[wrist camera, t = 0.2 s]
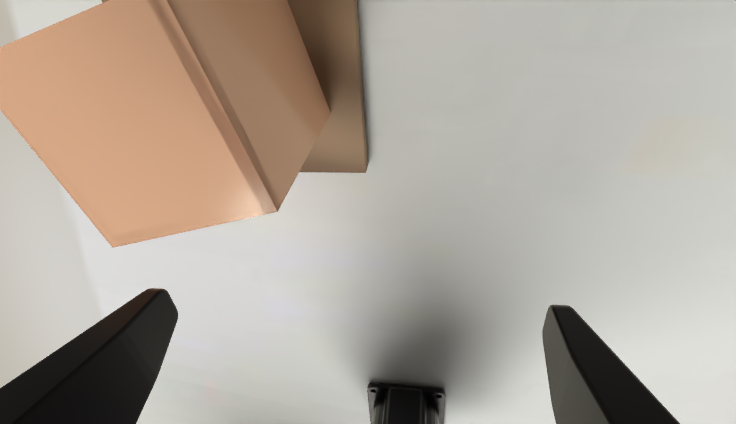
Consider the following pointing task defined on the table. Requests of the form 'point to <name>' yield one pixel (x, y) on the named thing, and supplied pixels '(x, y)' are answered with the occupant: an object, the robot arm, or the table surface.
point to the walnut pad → (335, 82)
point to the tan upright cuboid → (167, 110)
